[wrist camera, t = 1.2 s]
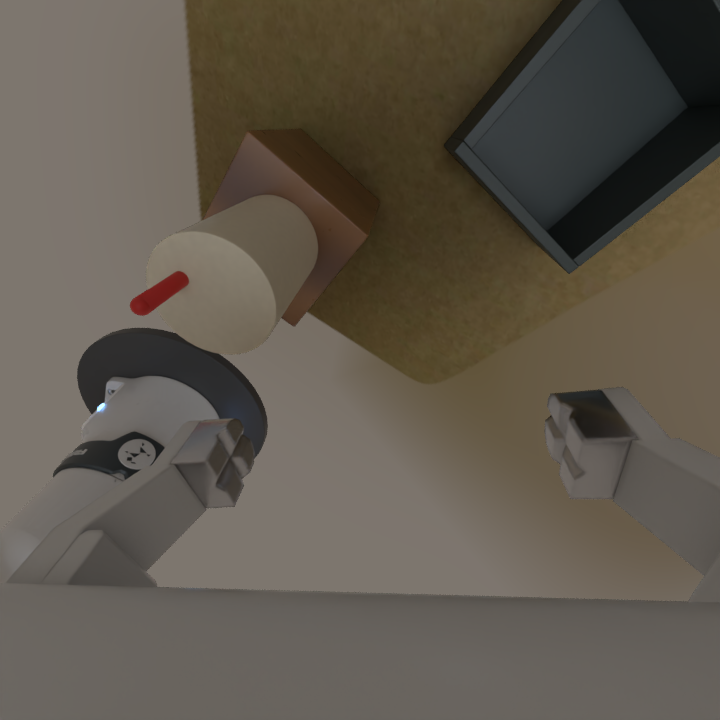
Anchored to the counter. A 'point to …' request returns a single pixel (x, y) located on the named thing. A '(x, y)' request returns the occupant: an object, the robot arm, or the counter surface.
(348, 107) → the counter surface
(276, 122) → the counter surface
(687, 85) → the bin
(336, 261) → the brown rectangular block
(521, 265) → the counter surface
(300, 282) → the cream candle
